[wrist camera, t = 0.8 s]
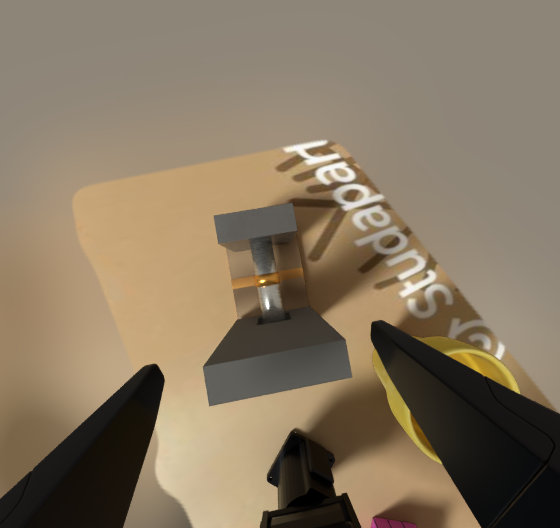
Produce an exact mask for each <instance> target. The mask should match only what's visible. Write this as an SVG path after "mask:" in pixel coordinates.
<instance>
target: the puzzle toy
mask: <svg viewBox="0 0 560 528" xmlns="http://www.w3.org/2000/svg"><path fill="white" fill-rule="evenodd" d="M371 528H417V527H416V525H415V524H412V523H406V522H400V521H394V520H389V519H383V518H377V517H373V519H372V525H371Z"/></svg>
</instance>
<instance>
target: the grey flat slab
mask: <svg viewBox="0 0 560 528" xmlns="http://www.w3.org/2000/svg"><path fill="white" fill-rule="evenodd" d="M284 314H285V320H284V321H279V322H274V323H268V324H264V323H263V318H262V315H259V316H254V317H248V318H243V319H237V321H236V322H235V323H234V325H233V326H232V328H231V329H230V330H229V332H228V333H227V334H226V336H225V337H224V339H223V340H222V341H221V343H220V344H219V345H218V347H217V348H216V350H215V351H214V352H213V354H212V355H211V356H210V358H209V359H208V361H207V362H206V363H205V365H204V366H203V371H204V377H205V383H206V389H207V395H208V401H209V406H213V405H218V404H223V403H228V402H233V401H238V400H243V399H248V398H253V397H258V396H262V395H267V394H272V393H277V392H282V391H287V390H292V389H297V388H302V387H307V386H312V385H317V384H322V383H327V382H332V381H337V380H342V379H347V378H352V373H351V367H350V362H349V356H348V351H347V345H346V340H345V339H344V338H343V337H342V336H341V335H340V334H339V333H338V332H337V331H336V330H335V329H334V328H333V327H332V326H330V325H329V324H328V323H327V322H326V321H325V320H324V319H323V318H322V317H321V316H320V315H319V314H318V313H316V312H315V311H314V310H313V309H312V308H311V307H310V306H308V307H302V308H297V309H292V310H286V311H284Z"/></svg>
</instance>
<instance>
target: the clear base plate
mask: <svg viewBox="0 0 560 528" xmlns="http://www.w3.org/2000/svg"><path fill="white" fill-rule="evenodd" d="M226 250H227V256H228V262H229V268H230V274H231V281H232V287H233V292H234V298H235V304H236V310H237V316H238V319H243V318H248V317H254V316H259V315H262V312H261V306H260V300H259V294H258V288H257V287H255V282H254V276H255V271H254V265H253V259H252V254H251V250H246V251H240V252H233V251H231V250H229V249H228V248H226ZM273 251H274V257H275V263H276V268H277V272H279V275H280V281H281V283H279V286H280V291H281V297H282V303H283V308H284V311H286V310H292V309H297V308H302V307H308V306H309V303H308V297H307V292H306V286H305V281H304V274H303V269H302V264H301V258H300V253H299V247H298V242H297V236H296V234H295V235H294V237H293V239H292V240H291V242H290V243H287V244H281V245H275V246H273Z"/></svg>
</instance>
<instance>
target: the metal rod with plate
mask: <svg viewBox="0 0 560 528" xmlns="http://www.w3.org/2000/svg"><path fill="white" fill-rule="evenodd" d="M214 220H215V226H216V232H217V238H218V244H220V245H222V246H224V247H226V248H228V249H229V250H231V251H233V252H240V251H246V250H251V254H252V259H253V265H254V271H255V276H254V282H255V287H257V288H258V294H259V300H260V306H261V312H262V318H263V323H264V324H268V323H274V322H279V321H284V320H285V314H284V308H283V303H282V297H281V291H280V286H279V283H281V281H280V275H279V272H277V268H276V263H275V257H274V251H273V246H275V245H281V244H287V243H290V242H291V240H292V239H293V237H294V235H295V234H296V232H297V225H296V219H295V214H294V208H293V203H289V204H283V205H277V206H270V207H264V208H258V209H252V210H246V211H240V212H233V213H227V214H221V215H215V216H214Z"/></svg>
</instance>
